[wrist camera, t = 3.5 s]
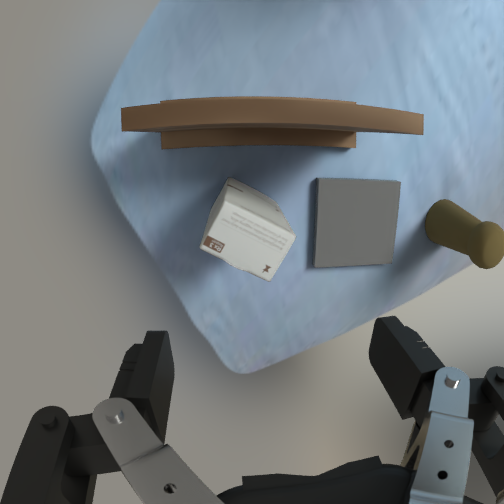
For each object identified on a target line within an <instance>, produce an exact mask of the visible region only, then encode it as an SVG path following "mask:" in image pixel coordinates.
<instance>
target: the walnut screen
mask: <svg viewBox="0 0 504 504" xmlns="http://www.w3.org/2000/svg"><path fill="white" fill-rule="evenodd" d="M423 121H424V114H418V113H413V112H407V111H401V110H395V109H388V108H381V107H373V106H365V105H356V102H349V101H339V100H327V99H313V98H295V97H210V98H192V99H178V100H166V101H160V103H159V104H150V105H141V106H133V107H125V108H121V123H122V131H134V132H161V145H162V149H173V148H189V147H208V146H237V145H300V146H329V147H348V148H356V132H380V133H401V134H416V135H423Z"/></svg>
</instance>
